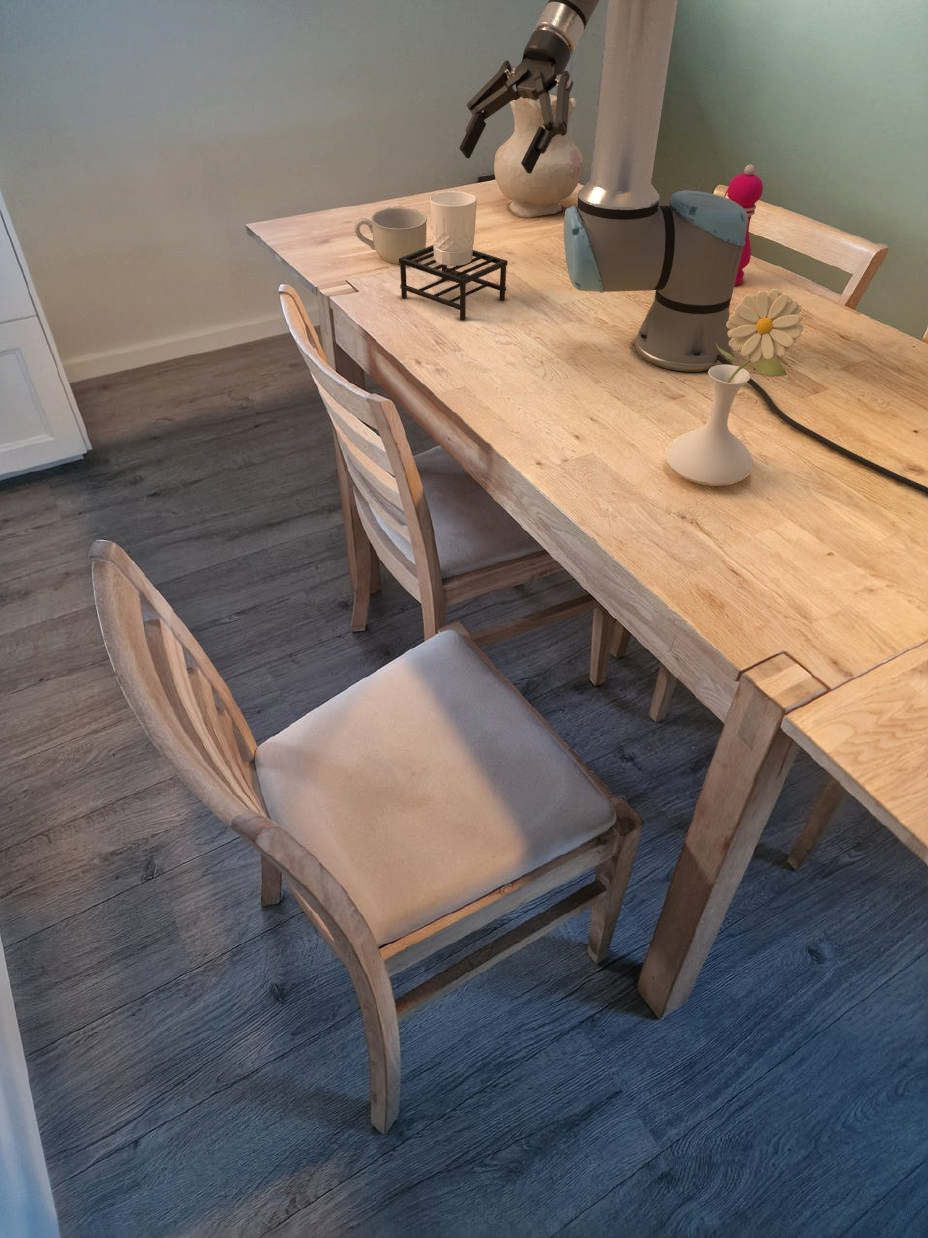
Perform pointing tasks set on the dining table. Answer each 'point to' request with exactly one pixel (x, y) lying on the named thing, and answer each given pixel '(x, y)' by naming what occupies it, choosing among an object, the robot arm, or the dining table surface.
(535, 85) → the robot arm
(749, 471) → the flower in vase
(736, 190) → the pepper mill
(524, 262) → the dining table surface
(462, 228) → the white cup
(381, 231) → the teacup
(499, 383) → the dining table surface
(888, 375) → the dining table surface
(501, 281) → the wire rack
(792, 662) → the dining table surface
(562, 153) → the ceramic pitcher
